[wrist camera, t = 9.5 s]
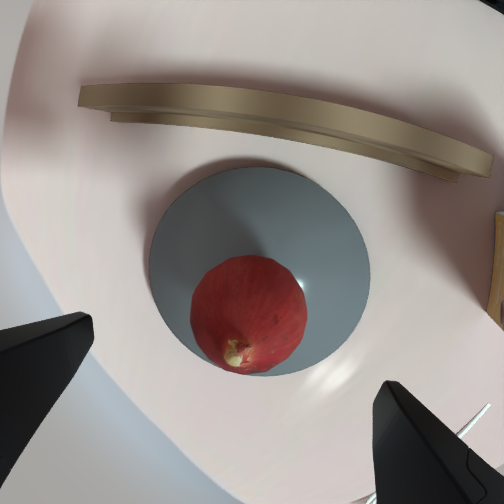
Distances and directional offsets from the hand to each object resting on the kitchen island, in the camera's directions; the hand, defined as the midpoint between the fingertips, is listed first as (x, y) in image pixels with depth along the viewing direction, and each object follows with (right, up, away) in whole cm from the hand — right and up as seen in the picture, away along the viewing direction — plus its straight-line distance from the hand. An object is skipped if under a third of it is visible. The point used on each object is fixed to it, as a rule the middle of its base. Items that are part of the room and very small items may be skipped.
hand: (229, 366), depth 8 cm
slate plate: (+1, +1, +12) cm, 12 cm away
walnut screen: (+3, +11, +9) cm, 14 cm away
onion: (+1, +1, +11) cm, 11 cm away
